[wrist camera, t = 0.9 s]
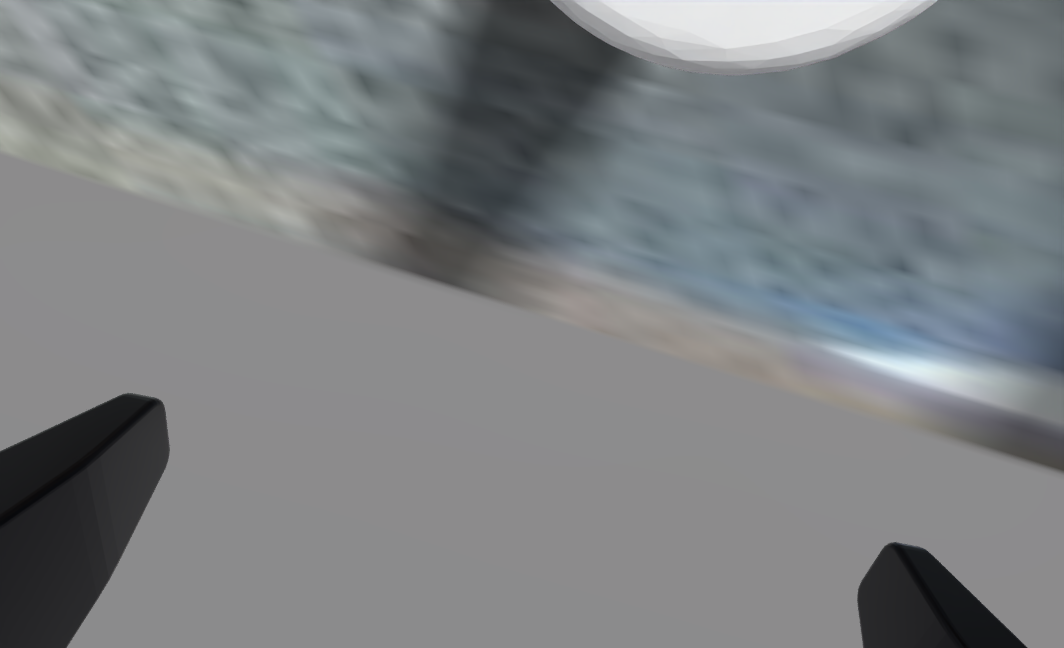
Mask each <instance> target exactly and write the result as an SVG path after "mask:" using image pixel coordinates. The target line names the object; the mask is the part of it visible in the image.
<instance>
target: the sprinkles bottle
mask: <svg viewBox="0 0 1064 648" xmlns="http://www.w3.org/2000/svg"><path fill="white" fill-rule="evenodd" d="M550 1H551V2H552V3H554V4H555V5H556V6H557V7H558V8H559V9H560V10H561V11H563V12H564V13H565V14H566V15H567V16H568V17H569V18H570V19H572V20H573V21H574V22H575V23H576V24H578V25H579V26H581V27H582V28H584V29H585V30H587V31H588V32H590V33H591V34H593V35H594V36H596V37H597V38H599V39H601V40H603V41H604V42H606V43H608V44H610V45H611V46H614V47H616V48H618V49H620V50H622V51H625V52H627V53H629V54H631V55H633V56H636V57H638V58H641V59H644V60H647V61H650V62H653V63H656V64H659V65H662V66H665V67H668V68H673V69H678V70H683V71H687V72H694V73H705V74H715V75H726V76H730V75H751V74H760V73H769V72H778V71H786V70H791V69H795V68H799V67H803V66H808V65H812V64H814V63H817V62H821V61H825V60H828V59H832V58H835V57H837V56H840V55H842V54H844V53H846V52H849V51H851V50H853V49H855V48H857V47H860V46H862V45H864V44H866V43H869V42H871V41H873V40H875V39H878V38H880V37H882V36H884V35H886V34H887V33H889V32H891V31H893V30H894V29H896V28H898V27H900V26H901V25H903V24H905V23H907V22H908V21H910V20H912V19H913V18H914V17H916V16H917V15H919V14H920V13H922V12H923V11H924V10H926V9H927V8H928V7H930V6H931V5H932V4H934V3H935V2H937V1H938V0H550Z"/></svg>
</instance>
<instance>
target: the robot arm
mask: <svg viewBox="0 0 1064 648" xmlns="http://www.w3.org/2000/svg"><path fill="white" fill-rule="evenodd" d="M169 451H170V448H169V438H168V429H167V421H166V412H165V407H164V404H163V402H162V401H161V400H159V399H157V398H154V397H149V396H143V395H138V394H133V393H127V394H122V395H120V396H118V397H116V398H113V399H111V400H109V401H107V402H105V403H103V404H100V405H98V406H96V407H95V408H92V409H90V410H88V411H85V412H83V413H81V414H79V415H77V416H75V417H73V418H70V419H68V420H66V421H64V422H62V423H60V424H58V425H55V426H54V427H51V428H49V429H47V430H45V431H43V432H41V433H38V434H36V435H34V436H32V437H30V438H28V439H25V440H23V441H21V442H19V443H17V444H15V445H13V446H10V447H8V448H6V449H4V450H2V451H0V648H67V646H68V644H69V643H70V641H71V640H72V638H73V637H74V635H75V634H76V632H77V630H78V629H79V627H80V626H81V624H82V623H83V621H84V619H85V618H86V616H87V615H88V613H89V612H90V610H91V609H92V607H93V605H94V604H95V602H96V601H97V599H98V598H99V596H100V594H101V593H102V591H103V589H104V588H105V586H106V584H107V583H108V581H109V580H110V578H111V576H112V574H113V572H114V570H115V568H116V566H117V564H118V563H119V561H120V559H121V557H122V555H123V553H124V551H125V549H126V546H127V544H128V542H129V541H130V538H131V537H132V534H133V533H134V530H135V528H136V526H137V524H138V522H139V520H140V518H141V516H142V514H143V512H144V510H145V508H146V506H147V504H148V502H149V500H150V498H151V496H152V494H153V492H154V490H155V488H156V486H157V484H158V482H159V480H160V478H161V476H162V474H163V472H164V470H165V468H166V465H167V462H168V458H169ZM857 601H858V610H859V618H860V626H861V633H862V641H863V648H1027V647H1026V646H1025V645H1024V644H1023V643H1022V642H1021V641H1020V640H1019V639H1018V638H1017V637H1016V636H1015V635H1014V634H1013V633H1012V632H1011V631H1010V630H1009V629H1008V628H1007V627H1006V626H1005V625H1004V624H1003V623H1001V622H1000V621H999V620H998V619H997V618H996V617H995V616H994V615H993V614H992V613H991V612H990V611H989V610H988V609H987V608H986V607H985V606H984V605H983V604H982V603H981V602H980V601H979V600H978V599H977V598H976V597H975V596H974V595H973V594H972V593H971V592H970V591H969V590H967V589H966V588H965V587H964V586H963V585H962V584H961V583H960V582H959V581H958V580H957V579H956V578H955V577H954V576H953V575H952V574H951V573H950V572H949V571H948V570H947V569H946V568H945V567H944V566H943V565H942V564H941V563H940V562H939V561H938V560H937V559H935V557H934V556H932V555H931V554H930V553H929V552H928V551H927V550H925V549H923V548H920V547H917V546H912V545H907V544H902V543H896V542H894V543H889V544H888V545H886V546H885V547H884V548H883V549H882V551H881V552H880V554H879V555H878V557H877V558H876V560H875V561H874V563H873V564H872V566H871V567H870V569H869V571H868V572H867V574H866V575H865V577H864V578H863V580H862V582H861V584H860V586H859V589H858V600H857Z"/></svg>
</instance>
